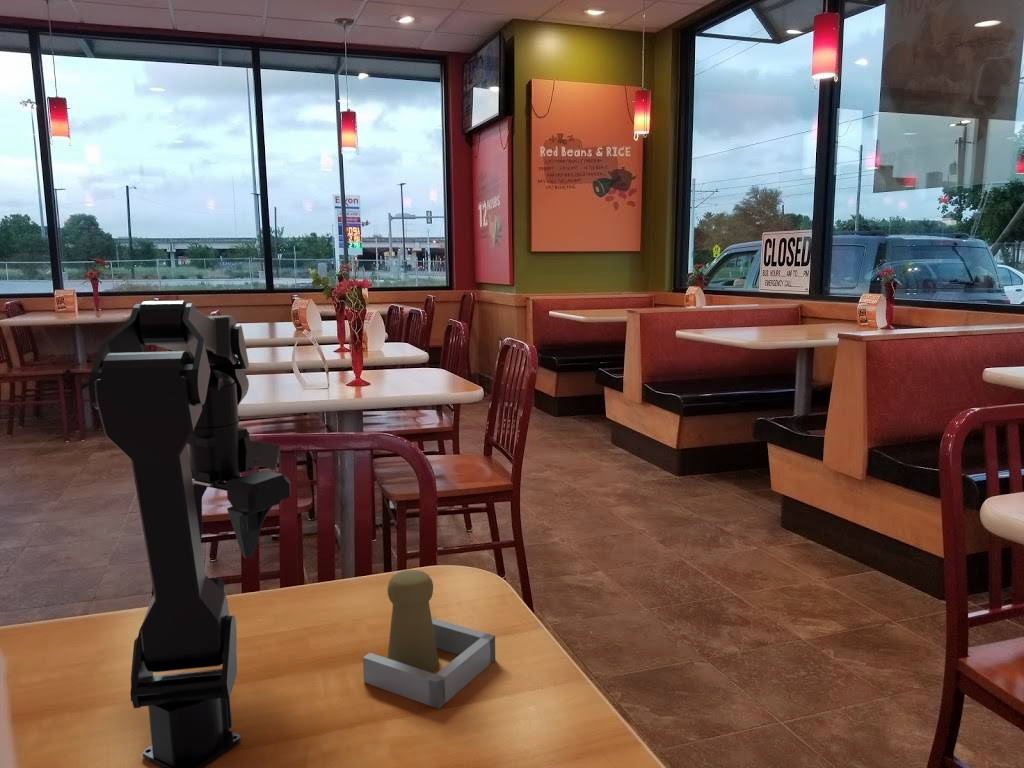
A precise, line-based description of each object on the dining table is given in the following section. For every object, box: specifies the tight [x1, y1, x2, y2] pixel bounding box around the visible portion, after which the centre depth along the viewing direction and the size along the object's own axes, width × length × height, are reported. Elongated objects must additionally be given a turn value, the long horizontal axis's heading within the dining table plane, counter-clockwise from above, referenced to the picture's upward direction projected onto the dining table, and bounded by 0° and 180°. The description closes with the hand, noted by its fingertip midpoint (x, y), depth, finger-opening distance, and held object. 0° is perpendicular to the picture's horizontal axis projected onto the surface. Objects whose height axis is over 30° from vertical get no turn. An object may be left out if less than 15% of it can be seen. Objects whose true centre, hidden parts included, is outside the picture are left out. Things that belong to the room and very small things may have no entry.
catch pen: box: [362, 617, 496, 710], centre depth 88 cm, size 11×10×3 cm
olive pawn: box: [386, 569, 439, 673], centre depth 89 cm, size 6×6×11 cm
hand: (222, 549), depth 93 cm, fingers open, 9 cm apart
